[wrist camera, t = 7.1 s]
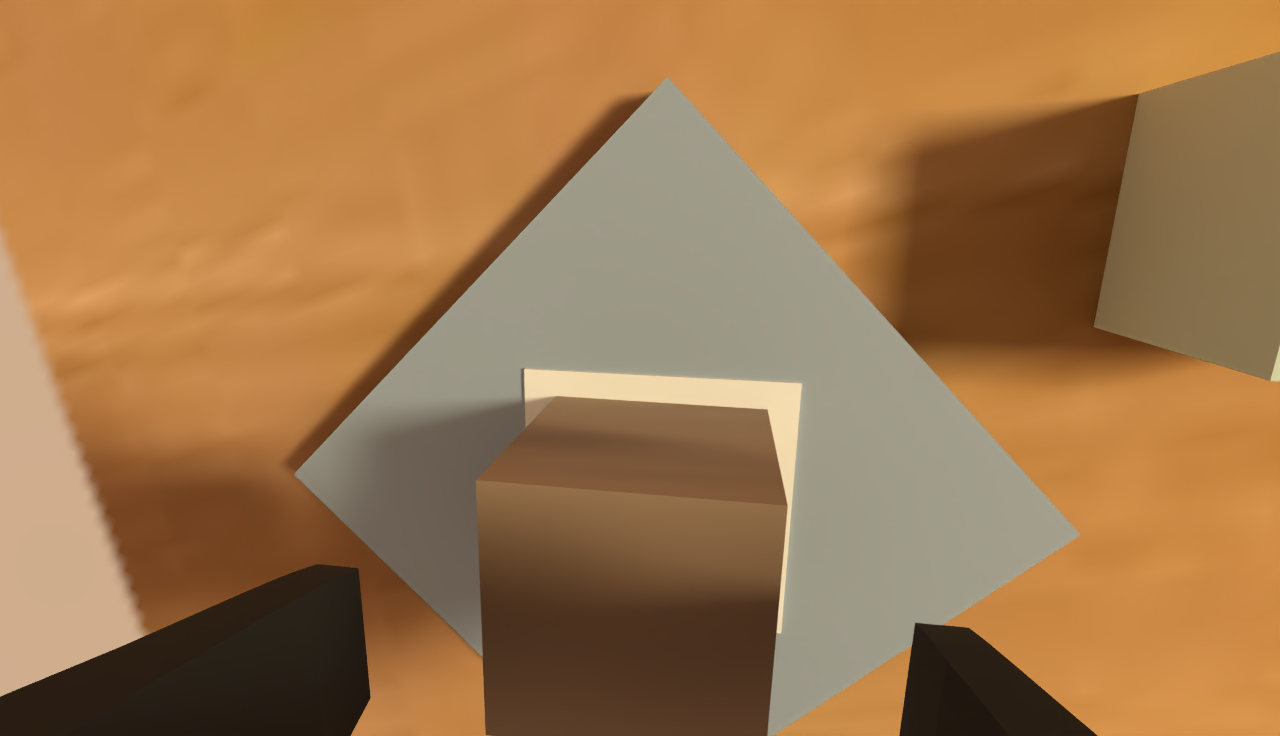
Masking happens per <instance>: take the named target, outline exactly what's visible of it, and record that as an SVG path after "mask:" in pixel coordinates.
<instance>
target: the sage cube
mask: <svg viewBox="0 0 1280 736" xmlns="http://www.w3.org/2000/svg"><path fill="white" fill-rule="evenodd" d="M1094 327H1095V328H1098V329H1101V330H1104V331H1108V332H1111V333H1114V334H1118V335H1121V336H1124V337H1127V338H1131V339H1134V340H1137V341H1141V342H1144V343H1147V344H1151V345H1154V346H1157V347H1160V348H1164V349H1167V350H1170V351H1174V352H1177V353H1180V354H1183V355H1187V356H1190V357H1193V358H1197V359H1200V360H1203V361H1207V362H1210V363H1213V364H1216V365H1220V366H1223V367H1226V368H1230V369H1233V370H1236V371H1239V372H1243V373H1246V374H1249V375H1253V376H1256V377H1259V378H1263V379H1266V380H1269V381H1280V52H1277V53H1274V54H1271V55H1267V56H1264V57H1261V58H1257V59H1254V60H1250V61H1247V62H1244V63H1240V64H1237V65H1234V66H1230V67H1227V68H1224V69H1220V70H1217V71H1214V72H1210V73H1207V74H1204V75H1200V76H1197V77H1193V78H1190V79H1187V80H1183V81H1180V82H1177V83H1173V84H1170V85H1167V86H1163V87H1160V88H1157V89H1153V90H1150V91H1146V92H1143V93H1140V94H1139V95H1138V101H1137V106H1136V111H1135V116H1134V121H1133V126H1132V131H1131V137H1130V142H1129V147H1128V152H1127V157H1126V162H1125V168H1124V173H1123V178H1122V183H1121V188H1120V193H1119V199H1118V204H1117V209H1116V214H1115V219H1114V224H1113V229H1112V235H1111V240H1110V245H1109V250H1108V255H1107V260H1106V266H1105V271H1104V276H1103V281H1102V286H1101V291H1100V297H1099V302H1098V307H1097V312H1096V317H1095V322H1094Z"/></svg>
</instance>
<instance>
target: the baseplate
mask: <svg viewBox="0 0 1280 736" xmlns="http://www.w3.org/2000/svg"><path fill="white" fill-rule="evenodd" d="M556 396H564V397H580V398H596V399H612V400H627V401H643V402H659V403H675V404H690V405H706V406H722V407H737V408H753V409H768V414H769V419H770V424H771V428H772V433H773V438H774V443H775V447H776V452H777V457H778V462H779V466H780V471H781V476H782V481H783V486H784V490H785V495H786V500H787V505H788V509H787V520H786V531H785V543H784V554H783V565H782V576H781V588H780V599H779V610H778V621H777V633H776V644H775V655H774V666H773V678H772V689H771V700H770V711H769V723H768V734H767V736H773V735H775V734H777V733H778V732H780V731H781V730H783V729H784V728H786V727H787V726H789V725H790V724H792V723H793V722H795V721H796V720H798V719H799V718H801V717H803V716H804V715H806V714H807V713H809V712H810V711H812V710H813V709H815V708H816V707H818V706H819V705H821V704H822V703H824V702H826V701H827V700H829V699H830V698H832V697H833V696H835V695H836V694H838V693H839V692H841V691H842V690H844V689H845V688H847V687H849V686H850V685H852V684H853V683H855V682H856V681H858V680H859V679H861V678H862V677H864V676H865V675H867V674H868V673H870V672H871V671H873V670H875V669H876V668H878V667H879V666H881V665H882V664H884V663H885V662H887V661H888V660H890V659H891V658H893V657H894V656H896V655H898V654H899V653H901V652H902V651H904V650H905V649H907V648H908V647H910V646H911V645H912V642H913V634H914V627H915V623H924V624H934V625H944V624H945V623H947V622H948V621H950V620H951V619H953V618H954V617H956V616H957V615H959V614H960V613H962V612H963V611H965V610H966V609H968V608H970V607H971V606H973V605H974V604H976V603H977V602H979V601H980V600H982V599H983V598H985V597H986V596H988V595H989V594H991V593H993V592H994V591H996V590H997V589H999V588H1000V587H1002V586H1003V585H1005V584H1006V583H1008V582H1009V581H1011V580H1012V579H1014V578H1016V577H1017V576H1019V575H1020V574H1022V573H1023V572H1025V571H1026V570H1028V569H1029V568H1031V567H1032V566H1034V565H1035V564H1037V563H1038V562H1040V561H1042V560H1043V559H1045V558H1046V557H1048V556H1049V555H1051V554H1052V553H1054V552H1055V551H1057V550H1058V549H1060V548H1061V547H1063V546H1065V545H1066V544H1068V543H1069V542H1071V541H1072V540H1074V539H1075V538H1077V537H1078V536H1080V534H1079V532H1078V531H1077V530H1076V529H1075V528H1074V527H1073V526H1072V525H1071V524H1070V522H1069V521H1068V520H1067V519H1066V518H1065V517H1064V516H1063V515H1062V514H1061V512H1060V511H1059V510H1058V509H1057V508H1056V507H1055V506H1054V505H1053V504H1052V503H1051V501H1050V500H1049V499H1048V498H1047V497H1046V496H1045V495H1044V494H1043V493H1042V491H1041V490H1040V489H1039V488H1038V487H1037V486H1036V485H1035V484H1034V483H1033V481H1032V480H1031V479H1030V478H1029V477H1028V476H1027V475H1026V474H1025V473H1024V471H1023V470H1022V469H1021V468H1020V467H1019V466H1018V465H1017V464H1016V463H1015V461H1014V460H1013V459H1012V458H1011V457H1010V456H1009V455H1008V454H1007V453H1006V451H1005V450H1004V449H1003V448H1002V447H1001V446H1000V445H999V444H998V443H997V441H996V440H995V439H994V438H993V437H992V436H991V435H990V434H989V433H988V432H987V430H986V429H985V428H984V427H983V426H982V425H981V424H980V423H979V422H978V420H977V419H976V418H975V417H974V416H973V415H972V414H971V413H970V412H969V410H968V409H967V408H966V407H965V406H964V405H963V404H962V403H961V402H960V400H959V399H958V398H957V397H956V396H955V395H954V394H953V393H952V392H951V390H950V389H949V388H948V387H947V386H946V385H945V384H944V383H943V382H942V380H941V379H940V378H939V377H938V376H937V375H936V374H935V373H934V372H933V370H932V369H931V368H930V367H929V366H928V365H927V364H926V363H925V362H924V361H923V359H922V358H921V357H920V356H919V355H918V354H917V353H916V352H915V351H914V349H913V348H912V347H911V346H910V345H909V344H908V343H907V342H906V341H905V339H904V338H903V337H902V336H901V335H900V334H899V333H898V332H897V331H896V329H895V328H894V327H893V326H892V325H891V324H890V323H889V322H888V321H887V319H886V318H885V317H884V316H883V315H882V314H881V313H880V312H879V311H878V309H877V308H876V307H875V306H874V305H873V304H872V303H871V302H870V301H869V299H868V298H867V297H866V296H865V295H864V294H863V293H862V292H861V291H860V290H859V288H858V287H857V286H856V285H855V284H854V283H853V282H852V281H851V280H850V278H849V277H848V276H847V275H846V274H845V273H844V272H843V271H842V270H841V268H840V267H839V266H838V265H837V264H836V263H835V262H834V261H833V260H832V258H831V257H830V256H829V255H828V254H827V253H826V252H825V251H824V250H823V248H822V247H821V246H820V245H819V244H818V243H817V242H816V241H815V240H814V238H813V237H812V236H811V235H810V234H809V233H808V232H807V231H806V230H805V228H804V227H803V226H802V225H801V224H800V223H799V222H798V221H797V220H796V219H795V217H794V216H793V215H792V214H791V213H790V212H789V211H788V210H787V209H786V207H785V206H784V205H783V204H782V203H781V202H780V201H779V200H778V199H777V197H776V196H775V195H774V194H773V193H772V192H771V191H770V190H769V189H768V187H767V186H766V185H765V184H764V183H763V182H762V181H761V180H760V179H759V177H758V176H757V175H756V174H755V173H754V172H753V171H752V170H751V169H750V167H749V166H748V165H747V164H746V163H745V162H744V161H743V160H742V159H741V157H740V156H739V155H738V154H737V153H736V152H735V151H734V150H733V149H732V148H731V146H730V145H729V144H728V143H727V142H726V141H725V140H724V139H723V138H722V136H721V135H720V134H719V133H718V132H717V131H716V130H715V129H714V128H713V126H712V125H711V124H710V123H709V122H708V121H707V120H706V119H705V118H704V116H703V115H702V114H701V113H700V112H699V111H698V110H697V109H696V108H695V106H694V105H693V104H692V103H691V102H690V101H689V100H688V99H687V98H686V96H685V95H684V94H683V93H682V92H681V91H680V90H679V89H678V88H677V86H676V85H675V84H674V83H673V82H672V81H671V80H670V79H669V78H668V77H667V78H666V79H665V80H664V81H663V82H662V83H661V84H660V86H659V87H658V88H657V89H656V90H655V91H654V92H653V93H652V94H651V95H650V96H649V97H648V98H647V99H646V100H645V101H644V103H643V104H642V105H641V106H640V107H639V108H638V109H637V110H636V111H635V112H634V113H633V114H632V115H631V116H630V117H629V118H628V120H627V121H626V122H625V123H624V124H623V125H622V126H621V127H620V128H619V129H618V130H617V131H616V132H615V133H614V134H613V135H612V137H611V138H610V139H609V140H608V141H607V142H606V143H605V144H604V145H603V146H602V147H601V148H600V149H599V150H598V151H597V152H596V154H595V155H594V156H593V157H592V158H591V159H590V160H589V161H588V162H587V163H586V164H585V165H584V166H583V167H582V168H581V169H580V171H579V172H578V173H577V174H576V175H575V176H574V177H573V178H572V179H571V180H570V181H569V182H568V183H567V184H566V185H565V186H564V188H563V189H562V190H561V191H560V192H559V193H558V194H557V195H556V196H555V197H554V198H553V199H552V200H551V201H550V202H549V203H548V205H547V206H546V207H545V208H544V209H543V210H542V211H541V212H540V213H539V214H538V215H537V216H536V217H535V218H534V219H533V220H532V222H531V223H530V224H529V225H528V226H527V227H526V228H525V229H524V230H523V231H522V232H521V233H520V234H519V235H518V236H517V237H516V239H515V240H514V241H513V242H512V243H511V244H510V245H509V246H508V247H507V248H506V249H505V250H504V251H503V252H502V253H501V254H500V256H499V257H498V258H497V259H496V260H495V261H494V262H493V263H492V264H491V265H490V266H489V267H488V268H487V269H486V270H485V271H484V273H483V274H482V275H481V276H480V277H479V278H478V279H477V280H476V281H475V282H474V283H473V284H472V285H471V286H470V287H469V288H468V290H467V291H466V292H465V293H464V294H463V295H462V296H461V297H460V298H459V299H458V300H457V301H456V302H455V303H454V304H453V305H452V307H451V308H450V309H449V310H448V311H447V312H446V313H445V314H444V315H443V316H442V317H441V318H440V319H439V320H438V321H437V322H436V324H435V325H434V326H433V327H432V328H431V329H430V330H429V331H428V332H427V333H426V334H425V335H424V336H423V337H422V338H421V339H420V341H419V342H418V343H417V344H416V345H415V346H414V347H413V348H412V349H411V350H410V351H409V352H408V353H407V354H406V355H405V356H404V358H403V359H402V360H401V361H400V362H399V363H398V364H397V365H396V366H395V367H394V368H393V369H392V370H391V371H390V372H389V373H388V375H387V376H386V377H385V378H384V379H383V380H382V381H381V382H380V383H379V384H378V385H377V386H376V387H375V388H374V389H373V390H372V392H371V393H370V394H369V395H368V396H367V397H366V398H365V399H364V400H363V401H362V402H361V403H360V404H359V405H358V406H357V407H356V409H355V410H354V411H353V412H352V413H351V414H350V415H349V416H348V417H347V418H346V419H345V420H344V421H343V422H342V423H341V424H340V426H339V427H338V428H337V429H336V430H335V431H334V432H333V433H332V434H331V435H330V436H329V437H328V438H327V439H326V440H325V441H324V443H323V444H322V445H321V446H320V447H319V448H318V449H317V450H316V451H315V452H314V453H313V454H312V455H311V456H310V457H309V458H308V460H307V461H306V462H305V463H304V464H303V465H302V466H301V467H300V468H299V469H298V470H297V471H296V472H295V473H294V475H295V476H296V477H297V478H298V479H299V480H300V481H301V482H302V483H303V484H304V485H305V486H306V487H307V488H308V489H309V490H310V491H311V492H312V493H313V494H314V495H315V496H316V497H318V498H319V499H320V500H321V501H322V502H323V503H324V504H325V505H326V506H327V507H328V508H329V509H330V510H331V511H332V512H333V513H334V514H335V515H336V516H337V517H338V518H339V519H340V520H341V521H342V522H343V523H344V524H345V525H346V526H347V527H348V528H349V529H351V530H352V531H353V532H354V533H355V534H356V535H357V536H358V537H359V538H360V539H361V540H362V541H363V542H364V543H365V544H366V545H367V546H368V547H369V548H370V549H371V550H372V551H373V552H374V553H375V554H376V555H377V556H378V557H379V558H380V559H381V560H383V561H384V562H385V563H386V564H387V565H388V566H389V567H390V568H391V569H392V570H393V571H394V572H395V573H396V574H397V575H398V576H399V577H400V578H401V579H402V580H403V581H404V582H405V583H406V584H407V585H408V586H409V587H410V588H411V589H412V590H413V591H414V592H416V593H417V594H418V595H419V596H420V597H421V598H422V599H423V600H424V601H425V602H426V603H427V604H428V605H429V606H430V607H431V608H432V609H433V610H434V611H435V612H436V613H437V614H438V615H439V616H440V617H441V618H442V619H443V620H444V621H445V622H446V623H447V624H449V625H450V626H451V627H452V628H453V629H454V630H455V631H456V632H457V633H458V634H459V635H460V636H461V637H462V638H463V639H464V640H465V641H466V642H467V643H468V644H469V645H470V646H471V647H472V648H473V649H474V650H475V651H476V652H477V653H478V654H479V655H480V656H482V657H483V650H482V625H481V600H480V574H479V549H478V524H477V498H476V479H477V478H478V477H479V476H480V475H481V474H482V473H483V472H484V471H485V470H486V469H487V468H488V467H489V466H490V465H491V464H492V463H493V462H494V461H495V460H496V458H497V457H498V456H499V455H500V454H501V453H502V452H503V451H504V450H505V449H506V448H507V447H508V446H509V445H510V444H511V443H512V442H513V441H514V440H515V439H516V437H517V436H518V435H519V434H520V433H521V432H522V431H523V430H524V429H525V428H526V427H527V426H528V425H529V424H530V423H531V422H532V421H533V420H534V419H535V418H536V416H537V415H538V414H539V413H540V412H541V411H542V410H543V409H544V408H545V407H546V406H547V405H548V404H549V403H550V402H551V401H552V400H553V399H554V398H555V397H556Z"/></svg>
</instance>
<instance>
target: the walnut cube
mask: <svg viewBox="0 0 1280 736" xmlns="http://www.w3.org/2000/svg"><path fill="white" fill-rule="evenodd" d="M476 498H477V524H478V549H479V574H480V600H481V625H482V650H483V676H484V701H485V726H486V735H492V736H767V734H768V723H769V711H770V700H771V689H772V678H773V666H774V655H775V644H776V633H777V621H778V610H779V599H780V588H781V576H782V565H783V554H784V543H785V531H786V520H787V509H788V505H787V500H786V495H785V490H784V486H783V481H782V476H781V471H780V466H779V462H778V457H777V452H776V447H775V443H774V438H773V433H772V428H771V424H770V419H769V414H768V409H753V408H737V407H722V406H706V405H690V404H675V403H659V402H643V401H627V400H612V399H596V398H580V397H564V396H556V397H555V398H554V399H553V400H552V401H551V402H550V403H549V404H548V405H547V406H546V407H545V408H544V409H543V410H542V411H541V412H540V413H539V414H538V415H537V416H536V418H535V419H534V420H533V421H532V422H531V423H530V424H529V425H528V426H527V427H526V428H525V429H524V430H523V431H522V432H521V433H520V434H519V435H518V436H517V437H516V439H515V440H514V441H513V442H512V443H511V444H510V445H509V446H508V447H507V448H506V449H505V450H504V451H503V452H502V453H501V454H500V455H499V456H498V457H497V458H496V460H495V461H494V462H493V463H492V464H491V465H490V466H489V467H488V468H487V469H486V470H485V471H484V472H483V473H482V474H481V475H480V476H479V477H478V478H477V479H476Z"/></svg>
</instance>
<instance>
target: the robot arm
mask: <svg viewBox="0 0 1280 736" xmlns="http://www.w3.org/2000/svg"><path fill="white" fill-rule="evenodd" d="M369 700H370V687H369V677H368V666H367V655H366V645H365V634H364V624H363V613H362V602H361V592H360V581H359V570H358V568H349V567H339V566H328V565H318V564H317V565H314V566H311V567H308V568H305V569H302V570H299V571H296V572H293V573H291V574H288V575H285V576H283V577H280V578H278V579H275V580H273V581H271V582H268V583H266V584H263V585H261V586H259V587H256V588H254V589H252V590H249V591H247V592H245V593H242V594H240V595H238V596H235V597H233V598H231V599H228V600H226V601H224V602H222V603H219V604H217V605H215V606H213V607H210V608H208V609H206V610H203V611H201V612H199V613H197V614H194V615H192V616H190V617H188V618H185V619H183V620H181V621H178V622H176V623H174V624H172V625H169V626H167V627H165V628H163V629H160V630H158V631H156V632H153V633H151V634H149V635H147V636H144V637H142V638H140V639H138V640H135V641H133V642H131V643H128V644H126V645H124V646H121V647H119V648H117V649H115V650H112V651H109V652H107V653H105V654H102V655H100V656H97V657H95V658H93V659H90V660H88V661H85V662H83V663H81V664H78V665H76V666H73V667H71V668H68V669H66V670H64V671H61V672H59V673H56V674H54V675H51V676H49V677H47V678H44V679H42V680H40V681H37V682H35V683H32V684H30V685H27V686H25V687H22V688H20V689H18V690H15V691H13V692H11V693H8V694H5V695H3V696H1V697H0V736H351V734H352V732H353V730H354V728H355V726H356V724H357V722H358V720H359V719H360V717H361V715H362V713H363V711H364V709H365V707H366V705H367V703H368V702H369ZM900 736H1097V735H1096V734H1095V733H1094V732H1093V731H1091V730H1090V729H1089V728H1088V727H1087V726H1085V725H1084V724H1083V723H1082V722H1081V721H1080V720H1078V719H1077V718H1076V717H1075V716H1074V715H1072V714H1071V713H1070V712H1069V711H1068V710H1067V709H1065V708H1064V707H1063V706H1062V705H1061V704H1059V703H1058V702H1057V701H1056V700H1055V699H1054V698H1052V697H1051V696H1050V695H1049V694H1048V693H1047V692H1045V691H1044V690H1043V689H1042V688H1041V687H1040V686H1038V685H1037V684H1036V683H1035V682H1034V681H1033V680H1031V679H1030V678H1029V677H1028V676H1027V675H1026V674H1024V673H1023V672H1022V671H1021V670H1020V669H1019V668H1017V667H1016V666H1015V665H1014V664H1013V663H1011V662H1010V661H1009V660H1008V659H1007V658H1006V657H1004V656H1003V655H1002V654H1001V653H1000V652H998V651H997V650H996V649H995V648H994V647H992V646H991V645H990V644H989V643H987V642H986V641H985V640H984V639H983V638H981V637H980V636H979V635H977V634H976V633H975V632H973V631H972V630H971V629H970V628H965V627H955V626H944V625H934V624H924V623H915V627H914V634H913V642H912V649H911V656H910V663H909V671H908V678H907V685H906V692H905V700H904V707H903V714H902V721H901V729H900Z"/></svg>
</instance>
